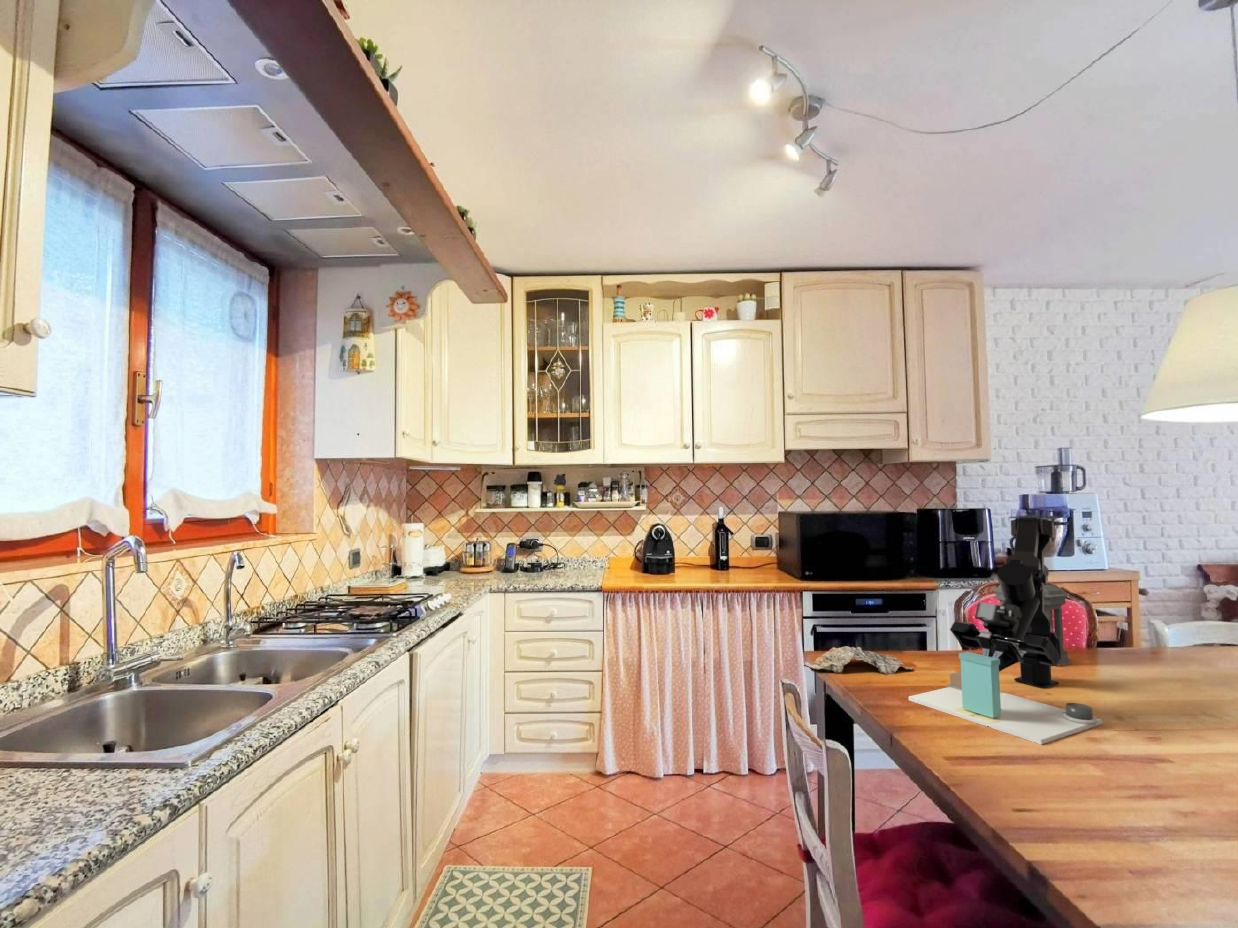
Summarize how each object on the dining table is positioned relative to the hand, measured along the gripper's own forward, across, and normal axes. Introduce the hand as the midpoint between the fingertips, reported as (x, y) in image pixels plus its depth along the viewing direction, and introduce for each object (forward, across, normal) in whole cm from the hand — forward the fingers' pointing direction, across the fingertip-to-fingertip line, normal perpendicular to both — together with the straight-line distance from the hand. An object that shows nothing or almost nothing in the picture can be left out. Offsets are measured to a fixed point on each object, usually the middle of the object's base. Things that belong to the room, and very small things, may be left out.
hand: (985, 676), depth 117 cm
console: (+2, -1, +9) cm, 9 cm away
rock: (+1, -37, +11) cm, 38 cm away
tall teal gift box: (+6, 0, +4) cm, 7 cm away
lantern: (-32, -20, +43) cm, 57 cm away
